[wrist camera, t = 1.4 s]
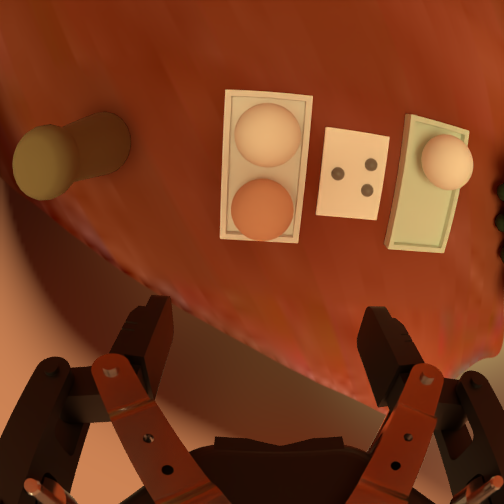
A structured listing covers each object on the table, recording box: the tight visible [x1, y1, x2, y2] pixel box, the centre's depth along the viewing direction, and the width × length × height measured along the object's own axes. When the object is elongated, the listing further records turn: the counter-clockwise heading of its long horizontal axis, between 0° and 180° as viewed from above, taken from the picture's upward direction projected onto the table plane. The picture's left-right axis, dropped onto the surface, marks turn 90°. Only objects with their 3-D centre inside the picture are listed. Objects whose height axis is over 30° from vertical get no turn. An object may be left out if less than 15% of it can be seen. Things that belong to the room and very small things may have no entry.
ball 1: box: [234, 103, 301, 167], centre depth 23 cm, size 5×5×5 cm
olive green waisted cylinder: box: [13, 112, 131, 200], centre depth 21 cm, size 6×6×11 cm
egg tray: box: [220, 90, 313, 243], centre depth 26 cm, size 13×7×1 cm, turn 177°
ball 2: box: [231, 179, 294, 241], centre depth 25 cm, size 5×5×5 cm
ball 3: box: [421, 134, 473, 190], centre depth 23 cm, size 5×5×5 cm
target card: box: [315, 127, 390, 220], centre depth 27 cm, size 8×6×1 cm
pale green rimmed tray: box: [384, 114, 469, 253], centre depth 26 cm, size 13×7×1 cm, turn 177°
